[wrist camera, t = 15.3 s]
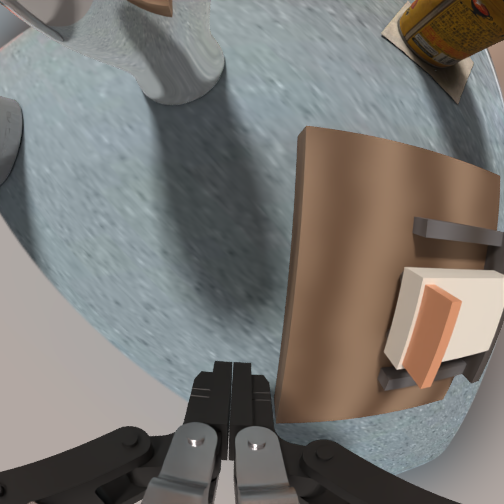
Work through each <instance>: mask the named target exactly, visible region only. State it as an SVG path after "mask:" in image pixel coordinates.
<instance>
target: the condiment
mask: <svg viewBox="0 0 504 504" xmlns="http://www.w3.org/2000/svg"><path fill="white" fill-rule="evenodd" d="M381 34H382V35H384V36H385V37H386V38H387V39H389V40H390V41H391V42H392V43H394V44H395V45H396V46H397V47H398V48H399V49H401V50H402V51H404V52H405V54H406V55H408V56H409V57H410V58H411V59H412V60H414V61H415V62H416V63H417V64H418V65H419V66H420V67H422V68H423V69H424V70H425V71H426V72H428V73H429V74H430V75H431V76H432V77H433V79H434V80H435V81H436V82H437V83H438V84H439V85H440V86H441V87H442V88H443V89H444V90H445V91H446V92H447V93H448V94H449V95H450V96H451V97H452V98H453V99H454V100H455V102H456V103H457V104H459V101H460V97H461V95H462V92H463V90H464V87H465V84H466V82H467V78H468V77H469V74H470V71H471V69H472V67H473V64H474V62H473V61H472V60H471V59H470V57H469V56H471V55H473V54H475V53H477V52H479V51H482V50H484V49H486V48H488V47H490V46H492V45H494V44H496V43H498V42H501V41H503V40H504V0H415V1H414V2H413V3H412V4H411V3H410V2H409V1H407V3H406V4H405V5H404V6H403V7H402V8H401V10H400V11H399V12H398V13H397V14H396V16H395V17H394V18H393V19H392V20H391V22H390V23H389V24H388V25H387V26H386V28H385V29H384V30H383V31H382V33H381ZM435 70H436V71H435Z"/></svg>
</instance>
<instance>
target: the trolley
mask: <svg viewBox="0 0 504 504" xmlns="http://www.w3.org/2000/svg"><path fill="white" fill-rule="evenodd" d="M400 283H401V288H400V292H399V297H398V301H397V306H396V310H395V314H394V318H393V322H392V325H391V327H390V328H389V329H388V331H387V334H386V337H387V343H386V346H385V350H384V353H385V354H386V356H387V357H388V358H389V360H390V361H391V363H392V364H393V365H394V367H395V368H396V370H398V369H406V370H407V372H408V373H409V374H410V376H411V377H412V378H413V380H414V381H415V382H416V384H417V385H418V386H419V388H420V389H423V388H427V387H431V385H432V382H433V380H434V378H435V376H436V374H437V371H438V369H439V367H440V364H441V362H444V361H448V360H453V359H457V358H461V357H465V356H469V355H473V354H477V353H481V352H484V351H488V350H489V348H490V345H491V343H492V340H493V338H494V335H495V332H496V329H497V327H498V324H499V321H500V318H501V315H502V312H503V308H504V275H503V274H501V273H499V272H497V271H494V270H469V269H441V268H416V267H404V271H403V272H402V273H401V275H400Z"/></svg>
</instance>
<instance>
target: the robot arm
mask: <svg viewBox="0 0 504 504" xmlns="http://www.w3.org/2000/svg"><path fill="white" fill-rule="evenodd" d="M21 134H22V113H21V108H20V106H19V104H18V103H17V102H16V101H15V100H13V99H9V98H5V97H2V96H0V185H1V184H2V183H3V182H4V181H5V180H6V178H7V176H8V175H9V173H10V171H11V169H12V167H13V165H14V162H15V159H16V156H17V153H18V149H19V145H20V140H21ZM231 386H232V394H231ZM230 406H231V409H230ZM229 421H230V425H229ZM228 436H229V460H232V461H233V460H234V491H235V503H236V504H460V503H458V502H455V501H452V500H449V499H446V498H444V497H441V496H439V495H436V494H434V493H432V492H429V491H427V490H424V489H422V488H420V487H418V486H415V485H413V484H411V483H409V482H407V481H405V480H403V479H401V478H399V477H396V476H395V475H393V474H391V473H389V472H387V471H385V470H383V469H381V468H379V467H377V466H375V465H374V464H372V463H370V462H368V461H366V460H365V459H363V458H361V457H359V456H358V455H356V454H354V453H353V452H351V451H349V450H348V449H346V448H344V447H343V446H341V445H339V444H338V443H336V442H334V441H331V440H316V441H313V442H311V443H309V444H308V445H307V446H302V445H297V444H292V443H289V442H286V441H284V440H283V439H281V438H280V437H279V436H278V435H277V433H276V432H275V429H274V422H273V413H272V404H271V395H270V386H269V382H268V381H267V379H266V378H265V377H264V375H251V363H241V362H234V365H233V379H232V362H223V361H215V363H214V368H213V372H203V371H201V372H200V374H199V375H198V376H197V377H196V378H195V379H194V383H193V387H192V391H191V396H190V399H189V403H188V407H187V412H186V415H185V419H184V423H183V425H182V426H180V427H179V428H178V429H177V430H176V432H174V433H172V434H169V435H163V436H149V435H148V434H147V433H146V432H145V431H143V430H142V429H140V428H137V427H133V426H126V427H121V428H119V429H116V430H114V431H112V432H110V433H108V434H106V435H103V436H101V437H99V438H97V439H94V440H92V441H90V442H87V443H85V444H82V445H80V446H78V447H75V448H73V449H70V450H67V451H65V452H62V453H60V454H57V455H54V456H51V457H49V458H46V459H43V460H40V461H37V462H34V463H30V464H27V465H24V466H21V467H17V468H14V469H10V470H6V471H2V472H0V504H134V503H136V502H138V501H140V500H142V499H143V500H142V502H141V504H214V500H215V495H216V490H217V484H218V479H219V473H220V470H221V460H227V453H228V452H227V451H228Z"/></svg>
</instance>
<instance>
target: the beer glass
mask: <svg viewBox="0 0 504 504" xmlns="http://www.w3.org/2000/svg"><path fill="white" fill-rule="evenodd" d="M0 4H1V5H3V6H4V7H5V8H7V9H8V10H9V11H11V12H12V13H13V14H15V15H16V16H17V17H19V18H20V19H22V20H23V21H24V22H25V23H27V24H28V25H30V26H31V27H33V28H34V29H36V30H37V31H39V32H40V33H42V34H43V35H45V36H46V37H48V38H50V39H52V40H53V41H55V42H57V43H59V44H61V45H62V46H64V47H66V48H68V49H70V50H72V51H75V52H77V53H80V54H82V55H84V56H87V57H89V58H91V59H94V60H97V61H100V62H102V63H105V64H108V65H110V66H113V67H116V68H118V69H121V70H123V71H125V72H128V73H129V74H131V75H132V76H133V77H134V78H135V79H136V81H137V83H138V85H139V86H140V88H141V90H142V91H143V93H144V94H145V95H146V96H147V97H148V98H150V99H151V100H153V101H155V102H157V103H160V104H164V105H181V104H185V103H189V102H192V101H194V100H196V99H198V98H200V97H202V96H203V95H205V94H206V93H207V92H208V91H210V90H211V89H212V88H213V87H214V86H215V84H216V83H217V82H218V80H219V78H220V77H221V74H222V72H223V68H224V54H223V51H222V49H221V47H220V45H219V44H218V42H217V41H216V39H215V38H214V37H213V35H212V34H211V31H210V4H211V0H0Z"/></svg>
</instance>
